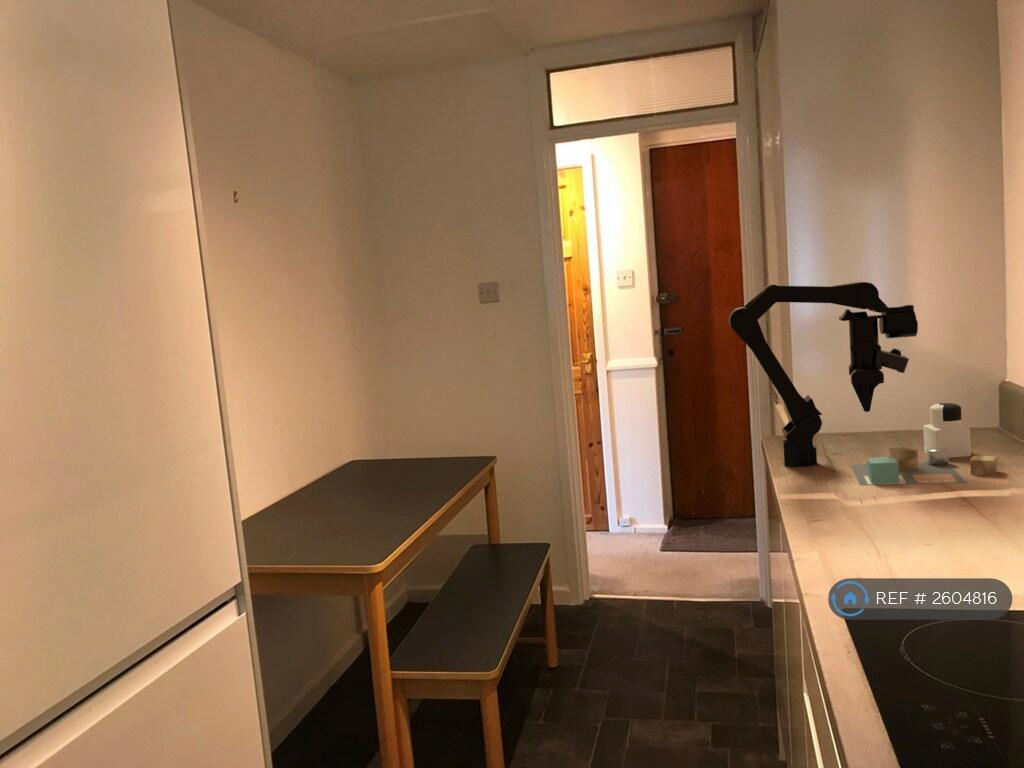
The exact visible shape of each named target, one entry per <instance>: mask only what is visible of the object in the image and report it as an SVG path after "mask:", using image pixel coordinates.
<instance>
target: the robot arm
mask: <svg viewBox="0 0 1024 768" xmlns="http://www.w3.org/2000/svg"><path fill="white" fill-rule="evenodd" d="M776 303H802V304H804V303H805V304H806V303H807V304H810V303H811V304H833V305H839V306H843V307H849V308H855V309H858V310H865V311H855V312H853V311H851V310H850V309H848V308H847V309H845V311H844V312H843V313H842V314H841V315H840V316H839V317H838V320H839V321H842V322H847V321H848V330H849V334H848V335H849V351H850V353H849V354H850V364H849V365H848V375H849V376H850V379H849V380H850V383H851V385H852V388H853V390H854V392H855V395H856V396H857V398H858V400H859V404H860V405H861V407H862V409H863V411H864V413H868V412H871V407H872V402H873V396H874V391H875V388H876V387H878V386H879V385H881V384H885V376H884V372H883V371H882V370H883V367H884V368H885V369H891V370H893V371H896V372H897V373H902V374H905V372H906V369H907V366H908V363H909V360H910V358H908V357H907V356H905V355H902V353H901V350H900V349H898V348H894V347H893V348H891V350H889V351H888V350H886V351H885V350H882V346H881V344H879V333H880V334H881V335H885V338H886V339H898V338H899V339H900V338H912V337H916V336H917V335H918V330H919V328H918V327H919V326H918V325H919V321H918V320H917V316H916V312H915V310H914V309H915V306H914V305H913V304H907V305H902V306H892V307H891V306H890V307H889V306H888V305H887V304H886V303H885V302H884V301H883V300H882V299H881V298H880V293H879V290H878V288H877V287H876V286H875V284H874V283H871V282H868V281H857V282H856V281H855V282H849V283H843V284H837V285H836V284H835V285H831V286H823V285H821V286H819V285H817V286H815V285H811V286H810V285H777V284H767V285H766V286H765V287H763V290H761V291H760V292H759V293H758V294H757V295H756V296H754V298H752V299H751V300H750V301H748V302H747V303H746V304H745V305H744V306H741V307H736V308H735V309H733V310H732V311H731V313H730V314H729V316H728V324H729V327H730V328H731V329H732V331H733V332H734V333H735V334H736V335H737V336H738V337H739V338H740V340H742V341H743V343H744V344H745V345H746V346H747V347H748V348H749V349H750V350H751V351H752V353H753V355H754V357H755V358H756V359H757V361H758V363H759V365H760V366H761V367H762V369H763V370H764V373H766V375H767V378H769V380H770V382H771V384H772V385H773V387H774V388H775V389H776V391H777V393H778V394H779V396H780V399H782V400H783V404H784V407H785V409H786V412H787V414H788V415H787V416H788V417H789V420H790V421H788V422H787V423H786V424H785V426H783V428H781V432H782V434H783V436H784V438H785V439H783V440H782V446H783V463H784V467H792V468H805V467H812V466H817V465H818V456H817V454H818V453H817V447H816V445H814V440H813V439H814V437H815V435H817V433H819V432H820V430H821V429H822V427H823V426H822V424H823V421H822V418H821V416H823V413H822V412H821V411H820V410H819V409H818V408H817V407H816V405H815V402H814V400H813V398H812V397H811V395H809V394H807V395H806V396H805V397H804V398H803V397H802V395H801V394H800V393H799V392H798V390H797V389H796V387H795V385H794V383H793V382H792V380H791V379H790V377H789V376H788V374H787V372H786V370H784V368H783V367H782V365H781V363H780V362H779V360H778V358H777V357H776V355H775V353H774V352H773V351H772V349H771V347H770V346H769V344H768V343H767V341H766V339H765V335H764V333H763V330H762V328H761V326H760V325H761V324H760V323H759V320H760V318H762V316H763V315H765V314H766V313H767V311H769V310H770V309H771V308H772V307H773V306H774V305H775V304H776ZM866 310H868V311H870V312H873V313H880V314H876V315H875V314H873V315H868V313H867V311H866ZM878 322H879V323H878Z"/></svg>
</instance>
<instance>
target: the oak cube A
mask: <svg viewBox="0 0 1024 768" xmlns="http://www.w3.org/2000/svg"><path fill="white" fill-rule="evenodd" d="M888 451H889V457H894V458H895V459H896V461H897V462H898V470H899V471H900V470H911V469H918V463H919V459H918V458H919V456H918V451H919V450H918V449H916V448H914V447H912V446H911V447H910V446H909V445H907V446H897V447H896V446H895V447H889V450H888Z"/></svg>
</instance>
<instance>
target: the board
mask: <svg viewBox="0 0 1024 768" xmlns="http://www.w3.org/2000/svg"><path fill="white" fill-rule="evenodd" d="M850 467H851V469H852V471H853V473H854V475H855V477H856V480H857V482H858V484H859V486H888V485H889V486H890V485H891V486H892V485H893V486H894V485H895V486H896V485H898V486H899V485H900V486H901V485H938V484H939V485H940V484H944V485H946V484H949V485H950V484H968V482H967V481H966V479H964V478H963V477H962V476H961V474H959V473H958V472H957V470H956V469H955V468H954V467H953V466H952V465H951V464H950V463H949V465H945V466H932V465H928V461H927V462H918V469H911V470H900V471H899V470H898V472H899V483H871V482H870V480H869V478H868V465H867V463H862V464H861V463H860V464H858V463H857V464H856V463H855V464H854V463H853V464H850Z"/></svg>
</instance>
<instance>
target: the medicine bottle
mask: <svg viewBox="0 0 1024 768" xmlns="http://www.w3.org/2000/svg"><path fill="white" fill-rule="evenodd" d="M929 414H930V415H929V416H930V424H929V423H928V424H924V425H923V428H922V429H923V452H924V453H925V454H927V449H930V448H946V449H948V450H949V459H950V458H963V457H964V458H965V457H972V456H971V455H972V454H971V453H972V452H971V451H972V450H971V449H972V447H971V428H970V427H968V426H965V425H963V424H962V420H963V419H962V406H960V405H959V404H957V403H954V402H953V403H951V402H945V403H943V402H942V403H941V402H940V403H934V404H933V405H931V406H930V407H929Z"/></svg>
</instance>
